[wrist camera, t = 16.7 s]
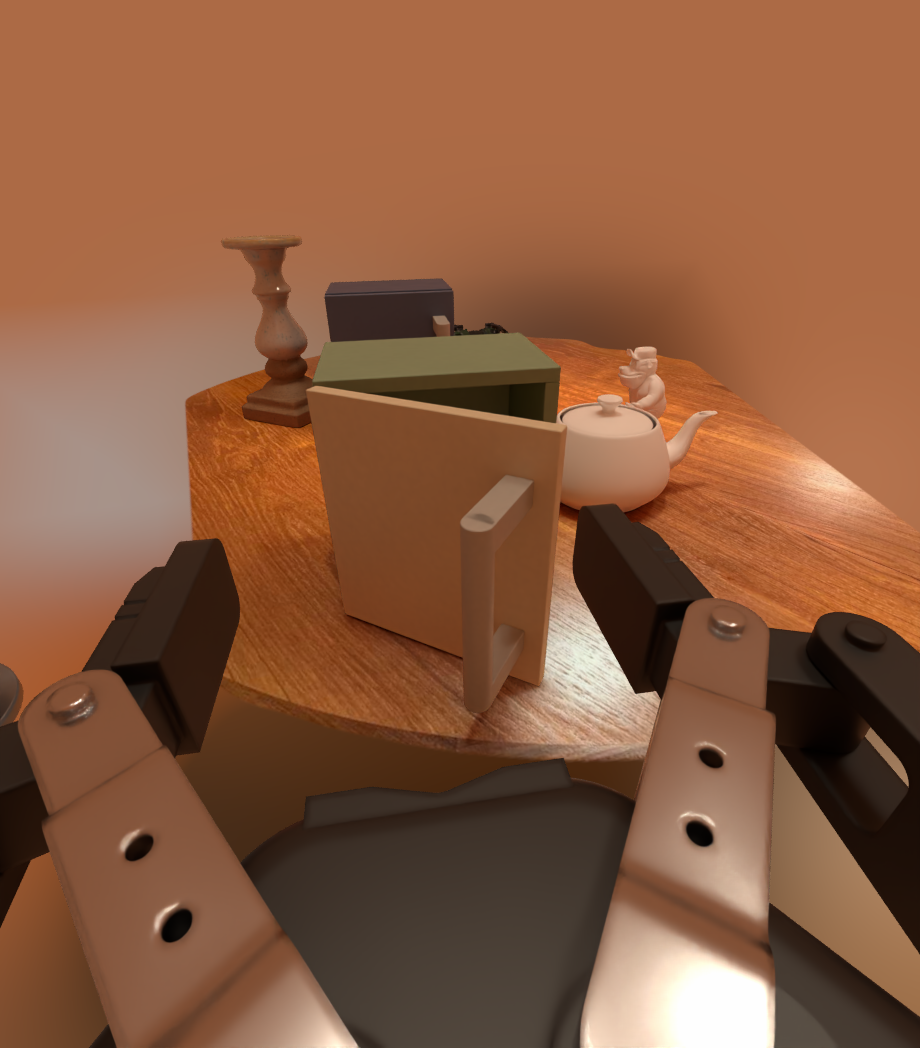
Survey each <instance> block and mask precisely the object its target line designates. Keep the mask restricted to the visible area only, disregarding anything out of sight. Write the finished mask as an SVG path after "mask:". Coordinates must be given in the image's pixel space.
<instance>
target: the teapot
mask: <svg viewBox="0 0 920 1048" xmlns="http://www.w3.org/2000/svg"><path fill="white" fill-rule="evenodd" d="M597 401H598V403H586V404H579V405H574V406H570V407H568V408H565V409H563V410H562V411H561V412H559V413H558V415H557V420H556V424H563V425H567V434H566V445H565V456H564V466H563V477H562V488H561V498H560V502H561V503H563V504H565V505H567V506H569V507H572V508H574V509H577V510H580V509H581V507H582V506H589V505H600V504H611V503H614V504H616V505H617V506H618V507H619V508H620V509H621V510H622V512H627V511H631V510H634V509H636V508H638V507H640V506H641V505H644V504H646V503H648V502H650V501H652V500H653V499H654V498H656V497H657V496H658V495H659V494H661V492H662V491H663V490H664V488H665V487H666V485H667V483H668V480H669V473H670V470H671V469H672V468H674V467H675V466H676V465H678V464H679V463H680V462H681V461H682V460H683V458H684V457H685V456H686V454H687V452H688V450H689V448H690V445H691V443H692V440H693V438H694V436H695V434H696V432H697V430H698V428H699V427H700V426H701V425H702V423H703V422H705V421H706V420H707V419H709V418H710V417H712V416H714V415H716V414H717V412H716V411H702V412H698V413H695V414H694V415H692V416H691V417H690V418H689V419H688V420H687V421H686V422H685V423H684V425H683V426H682V427H681V429H680V430H679V432H678V433H677V434H676V435H675V436H674V438H673V439H671V440H670V441H669V442H667V443H666V441H665V438H664V435H663V431H662V428H661V425H660V423H659V421H658V419H657V418H656V417H655V416H654V415H652V414H650V413H649V412H647V411H644V410H642V409H639V408H636V407H632V406H627V405H622V404H621V403H622V402H623V400H622V398H621V397H619V396H616V395H601V396H599V397H598V398H597Z"/></svg>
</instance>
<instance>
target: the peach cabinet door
mask: <svg viewBox="0 0 920 1048" xmlns="http://www.w3.org/2000/svg"><path fill="white" fill-rule="evenodd" d="M306 394H307V399H308V405H309V411H310V416H311V422H312V428H313V434H314V439H315V445H316V451H317V457H318V462H319V468H320V474H321V480H322V485H323V491H324V497H325V502H326V508H327V514H328V520H329V525H330V531H331V537H332V543H333V548H334V554H335V560H336V565H337V571H338V577H339V583H340V588H341V594H342V600H343V606H344V611H345V614H347V615H350V616H353V617H355V618H358V619H361V620H363V621H366V622H369V623H371V624H374V625H377V626H379V627H382V628H385V629H387V630H390V631H393V632H395V633H398V634H401V635H403V636H406V637H409V638H411V639H414V640H417V641H419V642H422V643H425V644H427V645H430V646H433V647H435V648H438V649H441V650H443V651H446V652H449V653H451V654H454V655H457V656H459V657H462V658H463V688H464V705H465V706H466V708H467V709H468V710H470V711H471V712H474V713H482V712H485V711H486V710H488V709H489V708H490V706H491V704H492V703H493V701H494V699H495V697H496V696H497V694H498V692H499V690H500V689H501V687H502V685H503V684H504V682H505V680H506V678H507V677H508V675H510V676H512V677H515V678H518V679H520V680H523V681H526V682H528V683H531V684H534V685H536V686H539V685H540V683H541V681H542V679H543V677H544V669H545V658H546V647H547V637H548V626H549V615H550V605H551V594H552V583H553V573H554V562H555V552H556V541H557V530H558V520H559V509H560V498H561V488H562V477H563V466H564V456H565V445H566V434H567V425H563V424H556V423H550V422H544V421H537V420H531V419H525V418H518V417H512V416H506V415H499V414H493V413H487V412H480V411H474V410H468V409H461V408H455V407H449V406H442V405H436V404H430V403H423V402H417V401H411V400H404V399H398V398H392V397H385V396H379V395H373V394H366V393H360V392H354V391H347V390H341V389H335V388H328V387H322V386H314V387H312V388H309V389H307V390H306Z"/></svg>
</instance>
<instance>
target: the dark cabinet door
mask: <svg viewBox="0 0 920 1048" xmlns="http://www.w3.org/2000/svg"><path fill="white" fill-rule="evenodd" d="M453 299H454V297H453V291H452V290H442V291H417V292H393V293H368V294H343V295H325V304H326V311H327V318H328V325H329V332H330V339H331V342H344V341H364V340H384V339H404V338H424V337H444V336H454V300H453Z"/></svg>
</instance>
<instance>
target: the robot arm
mask: <svg viewBox="0 0 920 1048" xmlns="http://www.w3.org/2000/svg"><path fill="white" fill-rule="evenodd" d="M679 559H680V558H679V557H678V556H677V555H676V554H675V552H674V551H673V550H670V547H669V546H668V544H667V543H666V542H665V541H664V540H663V539H662V538H661V537H660V535H659V534H658V533H656V532H655V531H653V530H651V529H650V528H648V527H646V526H645V525H643V524H641V523H639V522H634V523H632V522H631V521H630V520H629V519H628V518H627V516H626V515H625V514H624V513H623V512H622V510H621V509H620V508H619V507H618V506H617V505H616V504H614V503H611V504H600V505H589V506H582V507H581V509H580V511H579V515H578V522H577V530H576V538H575V546H574V554H573V575H574V579H575V583H576V585H577V588H578V589H579V591H580V593H581V595H582V597H583V599H584V600H585V602H586V604H587V606H588V608H589V610H590V611H591V613H592V615H593V617H594V619H595V621H596V622H597V624H598V626H599V628H600V630H601V632H602V633H603V635H604V637H605V639H606V641H607V643H608V644H609V646H610V648H611V650H612V652H613V654H614V655H615V657H616V659H617V661H618V663H619V664H620V666H621V668H622V670H623V672H624V674H625V675H626V677H627V679H628V681H629V683H630V685H631V686H632V688H633V690H634V692H635V694H638V693H645V692H653V691H656V692H657V693H658V695H659V697H660V699H661V701H660V705H659V708H658V712H657V716H656V719H655V723H654V727H653V731H652V734H651V738H650V742H649V746H648V749H647V753H646V757H645V761H644V765H643V768H642V772H641V776H640V779H639V783H638V787H637V790H636V794H635V798H634V800H632V799H631V798H629V797H627V796H626V795H624V794H622V793H620V792H617V791H615V790H613V789H611V788H609V787H606V786H603V785H600V784H597V783H594V782H590V781H586V780H581V779H575V778H570V775H569V773H568V770H567V767H566V764H565V761H564V758H559V759H553V760H546V761H540V762H533V763H526V764H521V765H514V766H507V767H502V768H500V769H497V770H495V771H493V772H490V773H488V774H486V775H484V776H481V777H478V778H476V779H474V780H471V781H469V782H467V783H464V784H462V785H460V786H457V787H455V788H453V789H451V790H448V791H445V792H441V793H430V792H420V791H409V790H398V789H389V788H379V787H367V788H361V789H354V790H348V791H341V792H334V793H328V794H321V795H315V796H308V797H306V802H305V812H304V819H303V820H301V821H299V822H296V823H294V824H292V825H290V826H289V827H287V828H285V829H283V830H281V831H279V832H278V833H276V834H275V835H273V836H272V837H271V838H269V839H268V840H266V841H265V842H263V843H262V844H261V845H259V846H258V847H257V848H256V849H255V850H254V851H252V852H251V853H250V854H249V855H248V856H247V857H246V858H245V859H244V860H243V861H242V862H241V863H240V862H239V860H238V859H237V857H236V856H235V854H234V852H233V851H232V849H231V848H230V846H229V844H228V843H227V841H226V840H225V838H224V836H223V835H222V833H221V832H220V830H219V829H218V827H217V825H216V824H215V822H214V821H213V819H212V818H211V816H210V814H209V813H208V811H207V810H206V808H205V806H204V805H203V803H202V801H201V800H200V798H199V797H198V795H197V793H196V792H195V790H194V789H193V787H192V785H191V784H190V782H189V781H188V779H187V778H186V776H185V775H184V773H183V771H182V770H181V768H180V766H179V765H178V763H177V762H176V760H175V757H176V755H182V754H190V753H198V752H200V750H201V746H202V743H203V740H204V736H205V733H206V730H207V726H208V723H209V720H210V717H211V713H212V710H213V706H214V703H215V700H216V696H217V693H218V690H219V687H220V683H221V680H222V677H223V673H224V670H225V667H226V663H227V660H228V657H229V653H230V650H231V647H232V644H233V640H234V637H235V634H236V630H237V627H238V623H239V618H240V603H239V597H238V593H237V590H236V586H235V583H234V580H233V576H232V573H231V570H230V567H229V563H228V560H227V557H226V554H225V550H224V547H223V545H222V543H221V541H220V540H219V539H216V538H215V539H204V540H193V541H183V542H179V543H178V544H177V545H176V547H175V549H174V551H173V553H172V555H171V556H170V558H169V560H168V562H167V564H166V566H165V567H155V568H153V569H152V570H151V571H150V572H148V573H147V574H146V575H145V576H143V577H142V578H141V579H140V580H139V581H137V582H136V583H135V584H134V586H133V587H132V589H131V591H130V592H129V594H128V595H127V597H126V599H125V600H124V605H122V606H121V607H120V609H119V610H118V612H117V614H116V615H115V620H114V621H112V622H111V624H110V625H109V627H108V629H107V630H106V632H105V634H104V635H103V637H102V638H101V640H100V642H99V643H98V645H97V647H96V648H95V650H94V652H93V653H92V655H91V657H90V658H89V660H88V662H87V663H86V665H85V667H84V668H83V670H82V672H80V673H77V674H74V675H71V676H68V677H66V678H64V679H61V680H60V681H58V682H56V683H54V684H52V685H51V686H49V687H48V688H46V689H45V690H43V691H42V692H41V693H39V694H38V695H37V696H36V697H35V698H34V699H33V700H32V701H31V702H30V703H29V704H28V705H27V706H26V708H25V709H24V711H23V712H22V714H21V716H20V719H19V721H16V722H13V723H10V724H7V725H4V726H1V727H0V927H1V925H2V923H3V921H4V918H5V916H6V914H7V912H8V909H9V907H10V905H11V903H12V901H13V898H14V896H15V894H16V892H17V890H18V887H19V885H20V883H21V881H22V879H23V876H24V874H25V872H26V870H27V867H28V865H29V863H30V860H32V859H34V858H36V857H39V856H41V855H43V854H46V853H48V852H50V854H51V857H52V860H53V863H54V866H55V868H56V871H57V874H58V877H59V880H60V883H61V886H62V889H63V892H64V895H65V898H66V901H67V904H68V907H69V909H70V912H71V915H72V918H73V921H74V924H75V927H76V930H77V933H78V935H79V939H80V942H81V945H82V947H83V950H84V953H85V956H86V959H87V962H88V965H89V968H90V971H91V974H92V976H93V980H94V983H95V985H96V988H97V991H98V994H99V997H100V1000H101V1003H102V1006H103V1009H104V1012H105V1015H106V1018H107V1021H108V1023H109V1024H108V1025H107V1026H106V1027H105V1029H104V1030H103V1031H102V1032H101V1034H100V1035H99V1036H98V1037H97V1039H96V1040H95V1041H94V1042H93V1043H92V1045H91V1046H90V1047H89V1048H920V1017H919V1016H918V1015H917V1014H915V1013H914V1012H912V1011H911V1010H910V1009H908V1008H907V1007H906V1006H905V1005H903V1004H902V1003H901V1002H899V1001H898V1000H897V999H895V998H894V997H893V996H892V995H890V994H889V993H888V992H886V991H885V990H884V989H882V988H881V987H880V986H878V985H877V984H876V983H874V982H873V981H872V980H871V979H869V978H868V977H867V976H865V975H864V974H862V973H861V972H860V971H859V970H857V969H856V968H855V967H853V966H852V965H851V964H849V963H848V962H847V961H846V960H844V959H843V958H842V957H840V956H839V955H838V954H836V953H835V952H834V951H832V950H831V949H830V948H828V947H827V946H826V945H824V944H823V943H822V942H821V941H819V940H818V939H817V938H815V937H814V936H813V935H811V934H810V933H809V932H807V931H806V930H805V929H803V928H802V927H801V926H800V925H798V924H797V923H796V922H794V921H793V920H792V919H790V918H789V917H788V916H786V915H785V914H784V913H782V912H781V911H780V910H779V909H777V908H776V907H775V906H773V905H772V904H771V903H769V889H770V888H769V887H770V862H771V861H770V860H771V836H772V809H773V784H774V783H773V782H774V757H775V744H776V745H777V746H778V748H779V749H780V750H781V752H782V753H783V755H784V756H785V758H786V759H787V761H788V762H789V764H790V765H791V767H792V768H793V769H794V771H795V772H796V774H797V775H798V777H799V778H800V780H801V781H802V783H803V784H804V786H805V787H806V789H807V790H808V791H809V793H810V794H811V796H812V797H813V799H814V800H815V802H816V803H817V805H818V806H819V807H820V809H821V810H822V812H823V813H824V815H825V816H826V818H827V819H828V821H829V822H830V824H831V825H832V827H833V828H834V829H835V831H836V832H837V834H838V835H839V837H840V838H841V840H842V841H843V843H844V844H845V845H846V847H847V848H848V850H849V851H850V853H851V854H852V856H853V857H854V859H855V860H856V862H857V863H858V865H859V866H860V867H861V869H862V870H863V872H864V873H865V875H866V876H867V878H868V879H869V881H870V882H871V883H872V885H873V886H874V888H875V889H876V891H877V892H878V894H879V895H880V897H881V898H882V900H883V901H884V903H885V904H886V905H887V907H888V908H889V910H890V911H891V913H892V914H893V916H894V917H895V919H896V920H897V921H898V923H899V925H900V926H901V927H902V929H903V930H904V932H905V933H906V935H907V936H908V938H909V939H910V940H911V942H912V943H913V945H914V946H915V948H916V949H917V950H918V952H919V954H920V653H919V652H918V651H917V650H916V649H914V648H913V647H912V646H911V645H910V644H909V643H908V642H906V641H905V640H904V639H903V638H902V637H901V636H900V635H898V634H897V633H896V632H895V631H893V630H892V629H890V628H888V627H887V626H885V625H883V624H881V623H879V622H877V621H875V620H873V619H870V618H867V617H864V616H861V615H857V614H852V613H845V612H833V613H828V614H825V615H823V616H821V617H820V618H819V619H818V620H817V622H816V625H815V627H814V629H813V631H812V633H808V632H799V631H791V630H782V629H774V628H768V626H767V625H766V623H765V622H764V621H763V619H762V618H761V617H760V616H758V615H757V614H756V613H755V612H753V611H752V610H750V609H749V608H747V607H745V606H743V605H740V604H738V603H735V602H732V601H729V600H724V599H718V598H714V597H713V596H712V595H711V594H710V592H709V591H708V590H707V589H706V588H705V587H704V586H703V584H702V583H701V582H700V581H699V580H698V579H697V578H696V576H695V575H694V574H693V573H692V572H691V571H690V570H689V568H688V567H687V566H686V565H685V564H684V563H683V562H682V561H680V560H679ZM870 727H871V728H872V729H873V730H874V731H875V732H876V734H877V735H878V736H879V737H880V738H881V739H882V740H883V742H884V743H885V744H886V745H887V746H888V747H889V748H890V749H891V751H892V752H893V753H894V754H895V755H896V756H897V757H898V758H899V760H900V761H901V763H902V765H903V766H904V768H905V770H906V773H907V776H908V780H909V788H908V786H907V785H906V784H905V783H904V782H903V781H902V779H901V778H900V777H899V776H898V775H897V774H896V772H895V771H894V770H893V769H892V768H891V767H890V765H888V763H887V762H886V761H885V760H884V758H883V757H882V756H881V755H880V754H879V753H878V752H877V750H876V749H875V748H874V747H873V746H872V744H871V743H870V742H869V741H868V740H867V739H866V737H865V735H866V733H867V732H868V730H869V728H870Z"/></svg>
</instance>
